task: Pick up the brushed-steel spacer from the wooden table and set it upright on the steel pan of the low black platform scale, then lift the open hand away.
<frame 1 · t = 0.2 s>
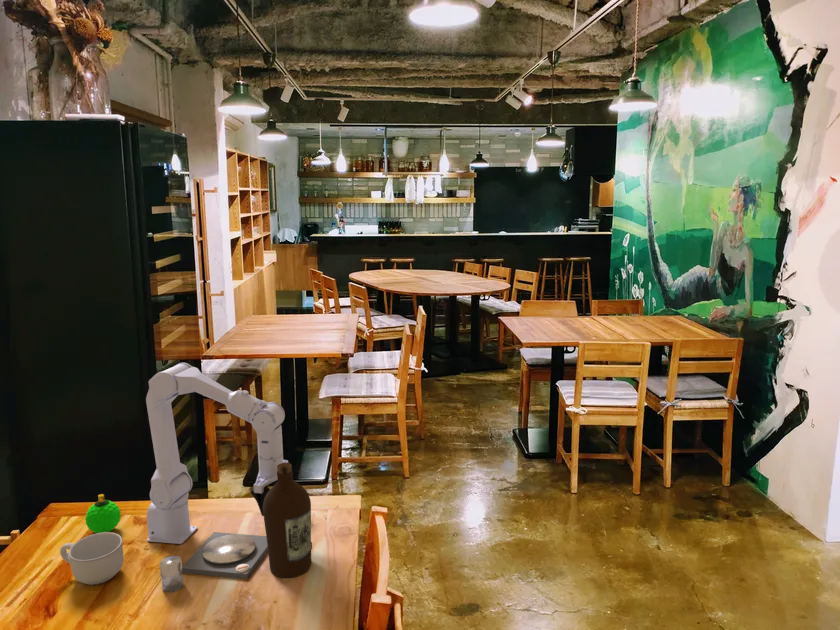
hand: (273, 507, 154), 10 cm above the table, tool pointing down, fingers open, 7 cm apart
scale pan: (229, 548, 151), point 2 cm above the table, slide at 0.1 cm
scale base: (229, 556, 152), on the table
ornament: (104, 532, 164), on the table
steel spacer: (172, 586, 140), on the table
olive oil: (290, 566, 147), on the table
teacup: (93, 576, 144), on the table
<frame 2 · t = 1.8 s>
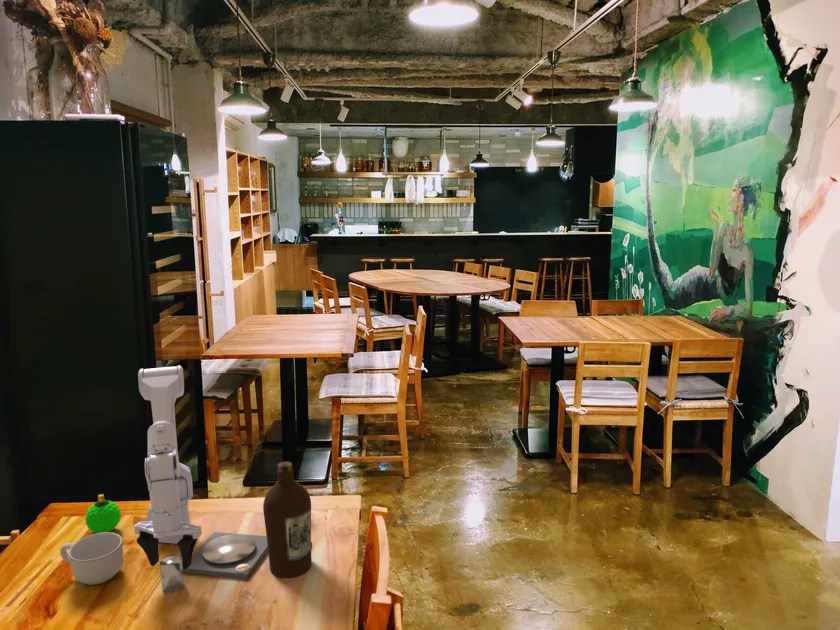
hand: (171, 565, 139), 5 cm above the table, tool pointing down, fingers open, 7 cm apart
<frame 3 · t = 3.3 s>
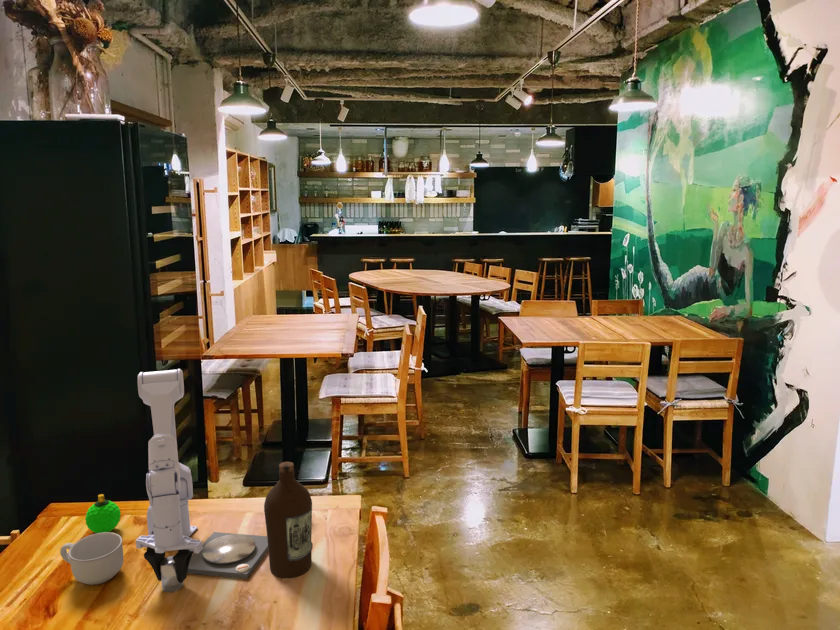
hand: (172, 579, 140), 2 cm above the table, tool pointing down, fingers closed on steel spacer, 4 cm apart
steel spacer: (172, 586, 140), on the table, touching gripper
everything else where it was.
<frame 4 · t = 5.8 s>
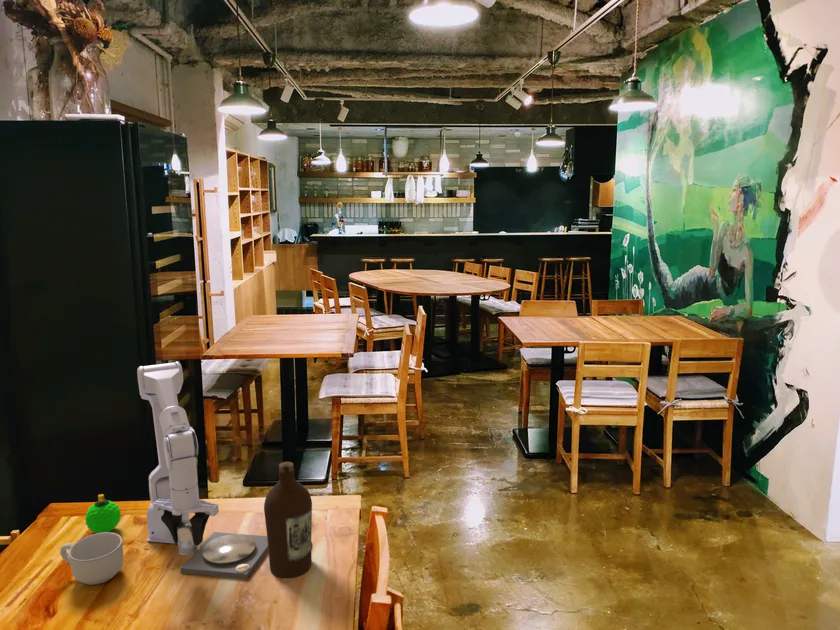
hand: (188, 542, 142), 8 cm above the table, tool pointing down, fingers closed on steel spacer, 4 cm apart
steel spacer: (189, 549, 143), point 7 cm above the table, touching gripper
everything else where it was.
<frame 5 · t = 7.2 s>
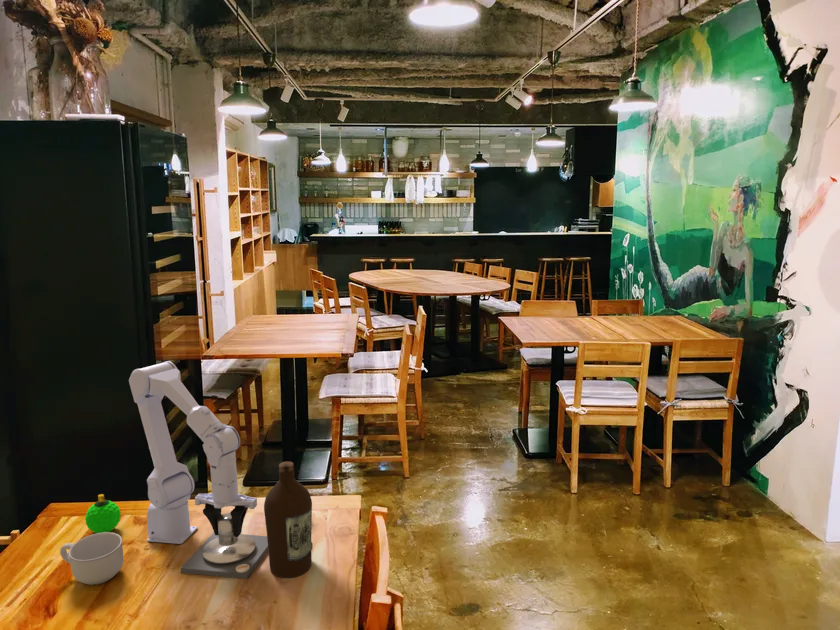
hand: (228, 534, 151), 6 cm above the table, tool pointing down, fingers closed on steel spacer, 4 cm apart
steel spacer: (228, 540, 151), point 4 cm above the table, touching gripper
everything else where it was.
when the fingers open (6 cm above the table, at t = 8.3 s): steel spacer drops 2 cm, resting on scale pan.
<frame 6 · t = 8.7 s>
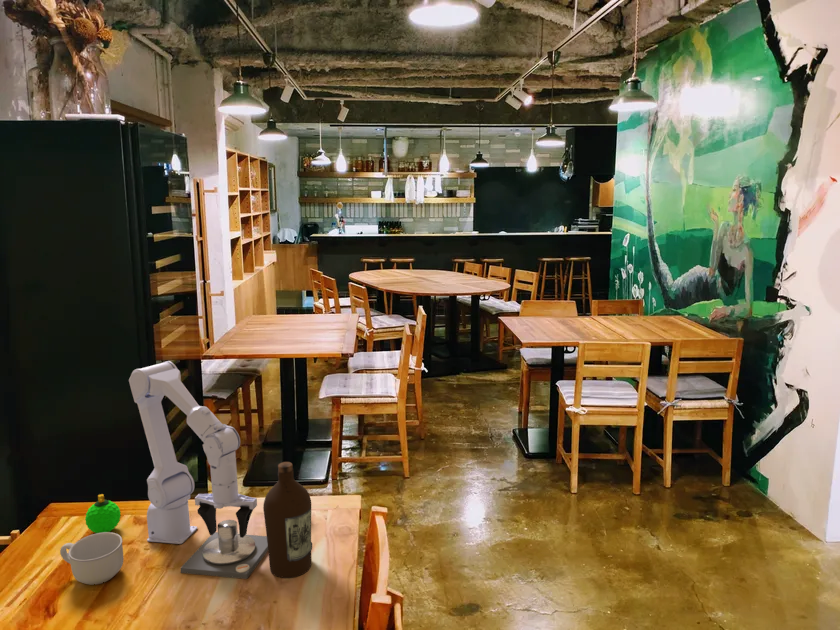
hand: (228, 534, 151), 6 cm above the table, tool pointing down, fingers open, 7 cm apart
scale pan: (229, 549, 151), point 2 cm above the table, slide at 0.3 cm, touching steel spacer
steel spacer: (228, 547, 151), point 2 cm above the table, touching scale pan
everything else where it was.
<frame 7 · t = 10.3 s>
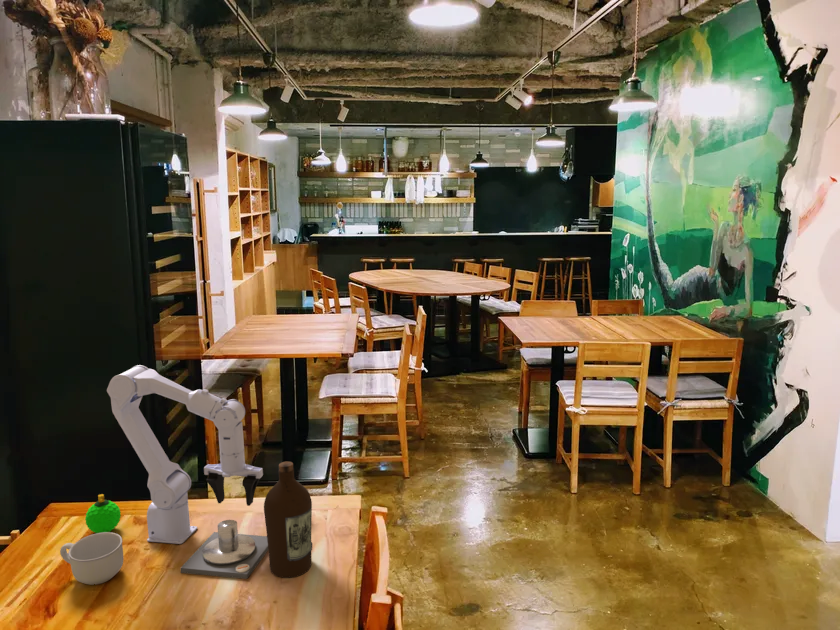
hand: (235, 502, 158), 9 cm above the table, tool pointing down, fingers open, 7 cm apart
nothing on the table moved.
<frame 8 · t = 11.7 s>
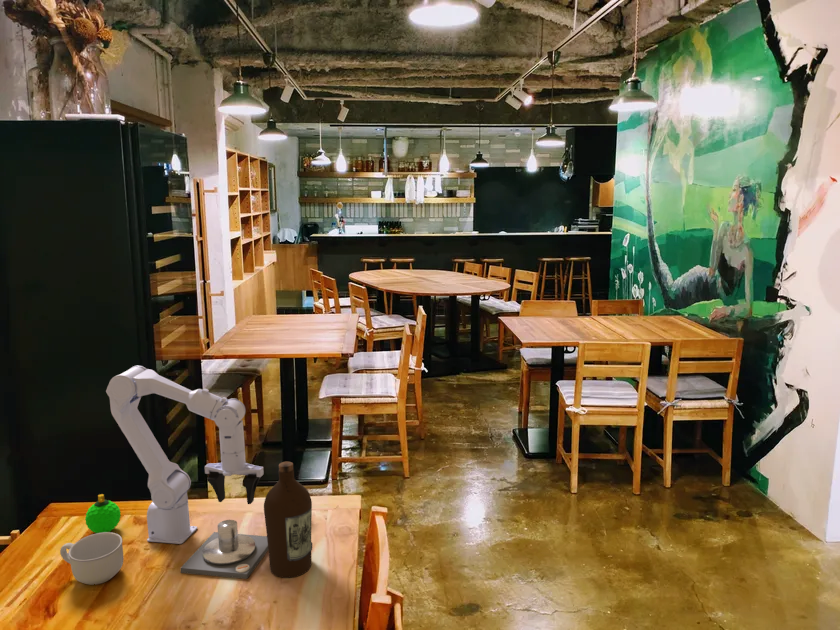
hand: (236, 501, 159), 9 cm above the table, tool pointing down, fingers open, 7 cm apart
nothing on the table moved.
at the end: steel spacer inside the target area on the scale base (0.1 cm from its centre), point 2.2 cm above the scale base's base; steel spacer tilted 0°; steel spacer touching scale pan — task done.
